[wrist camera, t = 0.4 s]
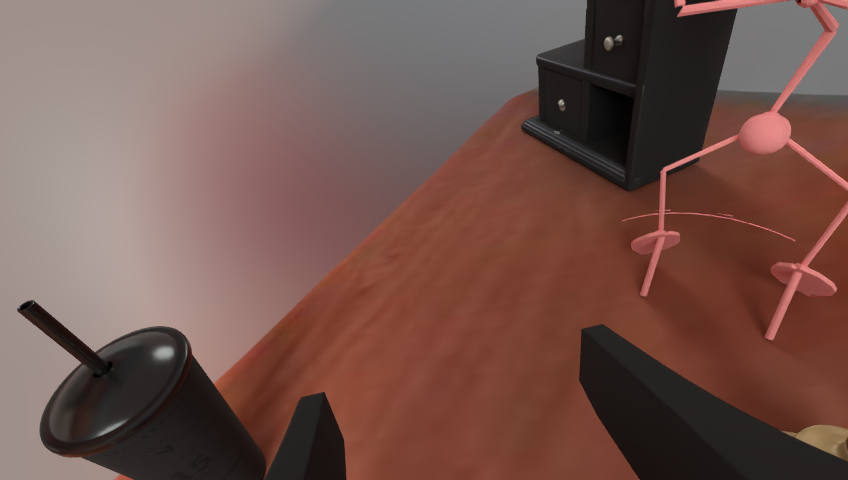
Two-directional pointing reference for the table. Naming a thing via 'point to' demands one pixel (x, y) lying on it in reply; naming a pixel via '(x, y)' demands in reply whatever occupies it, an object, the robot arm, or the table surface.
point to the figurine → (760, 138)
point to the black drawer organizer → (633, 88)
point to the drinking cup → (144, 409)
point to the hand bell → (825, 439)
